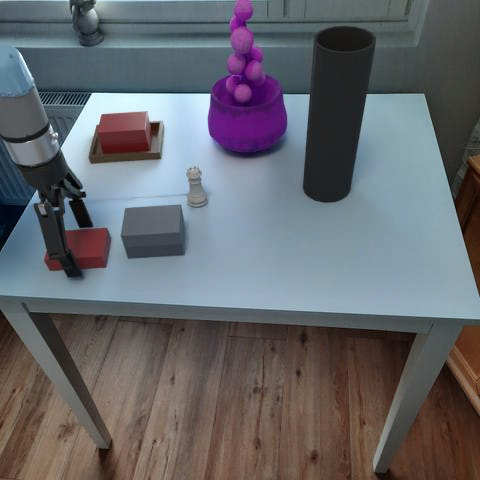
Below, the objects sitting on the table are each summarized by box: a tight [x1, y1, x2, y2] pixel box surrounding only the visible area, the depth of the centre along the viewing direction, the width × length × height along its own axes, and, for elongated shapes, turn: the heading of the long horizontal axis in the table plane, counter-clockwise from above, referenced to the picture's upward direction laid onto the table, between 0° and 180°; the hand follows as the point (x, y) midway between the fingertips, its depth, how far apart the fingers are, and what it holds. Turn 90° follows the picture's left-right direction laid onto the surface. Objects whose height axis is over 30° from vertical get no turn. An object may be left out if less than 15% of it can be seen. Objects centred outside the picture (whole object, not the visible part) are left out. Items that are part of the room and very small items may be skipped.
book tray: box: [87, 120, 165, 165], centre depth 114 cm, size 17×14×3 cm
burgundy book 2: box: [97, 110, 151, 144], centre depth 110 cm, size 11×8×3 cm
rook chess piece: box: [185, 165, 209, 208], centre depth 98 cm, size 4×4×8 cm
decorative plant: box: [207, 0, 288, 153], centre depth 102 cm, size 19×18×30 cm
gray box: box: [120, 203, 186, 260], centre depth 92 cm, size 11×8×6 cm
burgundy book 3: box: [101, 125, 152, 154], centre depth 113 cm, size 11×8×3 cm
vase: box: [302, 25, 377, 203], centre depth 90 cm, size 10×10×30 cm
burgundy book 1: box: [43, 227, 112, 272], centre depth 92 cm, size 11×8×3 cm
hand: (81, 250), depth 92 cm, fingers open, 13 cm apart
